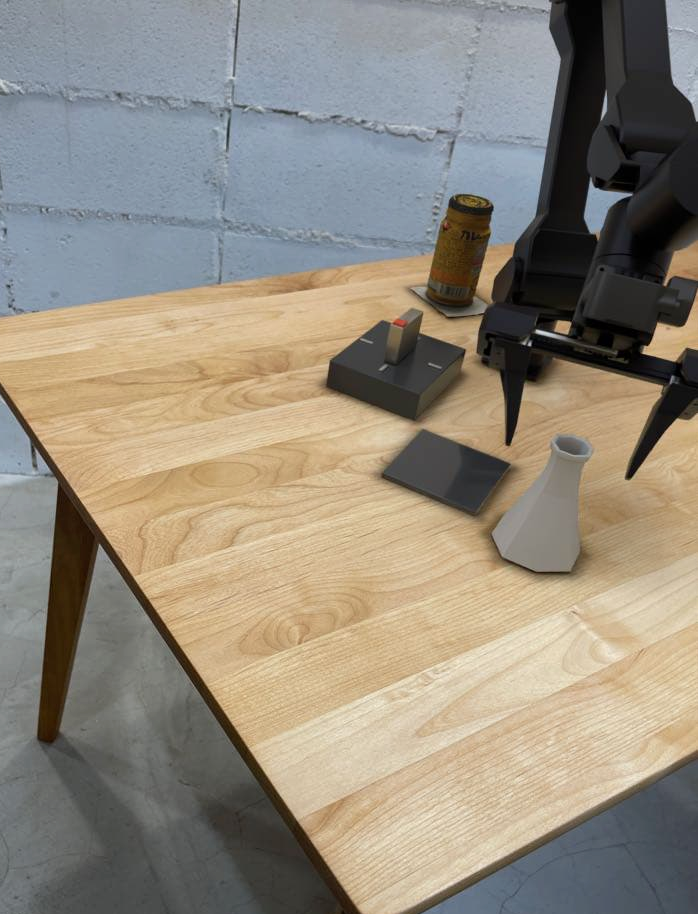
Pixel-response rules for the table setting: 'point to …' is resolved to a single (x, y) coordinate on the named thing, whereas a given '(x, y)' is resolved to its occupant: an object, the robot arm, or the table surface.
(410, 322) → the knob
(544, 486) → the flask
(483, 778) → the table surface
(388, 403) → the panel
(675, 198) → the robot arm
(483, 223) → the condiment
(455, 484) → the coaster
